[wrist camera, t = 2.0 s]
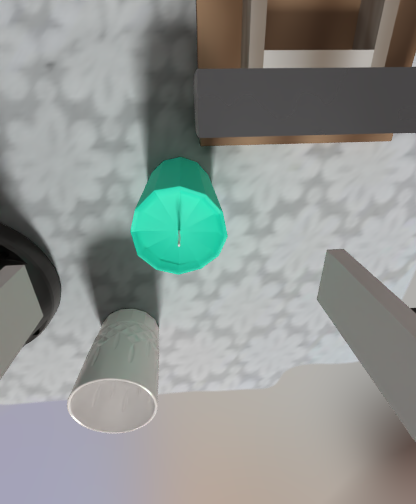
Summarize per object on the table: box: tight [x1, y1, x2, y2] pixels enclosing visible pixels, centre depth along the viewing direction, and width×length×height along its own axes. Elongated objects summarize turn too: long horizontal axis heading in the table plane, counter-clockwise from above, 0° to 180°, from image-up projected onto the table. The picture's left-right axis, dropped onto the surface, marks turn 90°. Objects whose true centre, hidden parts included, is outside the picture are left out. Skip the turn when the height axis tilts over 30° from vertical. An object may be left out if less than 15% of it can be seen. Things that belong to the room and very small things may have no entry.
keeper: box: [194, 67, 416, 138], centre depth 14 cm, size 18×4×19 cm, turn 91°
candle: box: [130, 157, 228, 275], centre depth 21 cm, size 6×6×12 cm
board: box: [196, 0, 416, 146], centre depth 20 cm, size 17×15×4 cm
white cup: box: [67, 309, 159, 433], centre depth 29 cm, size 8×8×10 cm
